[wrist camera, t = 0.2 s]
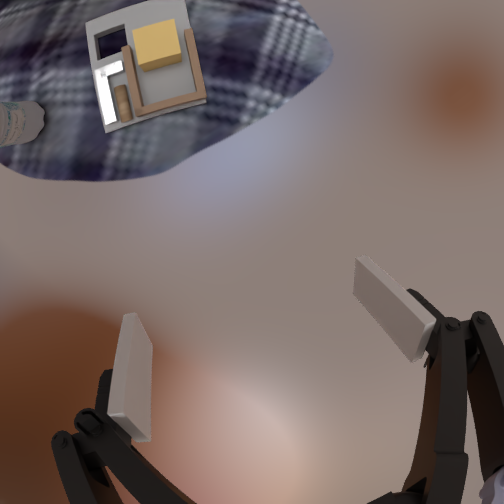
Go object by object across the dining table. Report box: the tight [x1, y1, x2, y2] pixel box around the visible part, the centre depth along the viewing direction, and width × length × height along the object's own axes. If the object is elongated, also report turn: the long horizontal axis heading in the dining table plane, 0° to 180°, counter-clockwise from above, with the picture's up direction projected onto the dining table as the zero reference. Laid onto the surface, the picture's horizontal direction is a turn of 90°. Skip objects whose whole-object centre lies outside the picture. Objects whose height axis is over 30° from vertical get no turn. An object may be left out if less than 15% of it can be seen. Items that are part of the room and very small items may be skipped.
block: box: [132, 19, 182, 72], centre depth 26 cm, size 5×5×5 cm
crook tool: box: [94, 60, 125, 125], centre depth 28 cm, size 8×4×2 cm, turn 12°
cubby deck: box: [86, 0, 207, 133], centre depth 27 cm, size 18×14×4 cm
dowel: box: [114, 84, 133, 123], centre depth 29 cm, size 5×2×2 cm, turn 12°
